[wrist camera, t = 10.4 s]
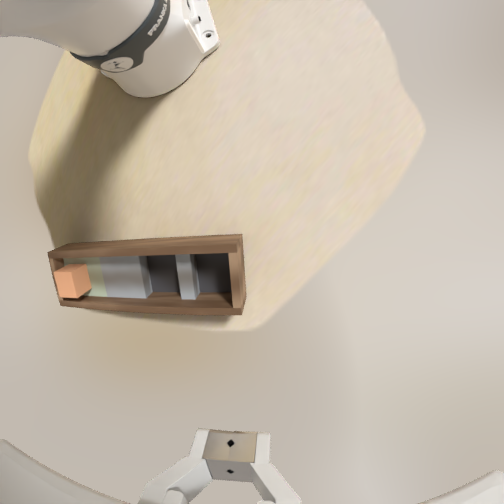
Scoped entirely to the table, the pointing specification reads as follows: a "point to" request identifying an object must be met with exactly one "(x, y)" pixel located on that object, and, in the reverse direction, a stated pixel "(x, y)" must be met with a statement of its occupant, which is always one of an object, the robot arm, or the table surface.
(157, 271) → the box
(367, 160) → the table surface
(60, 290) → the block
